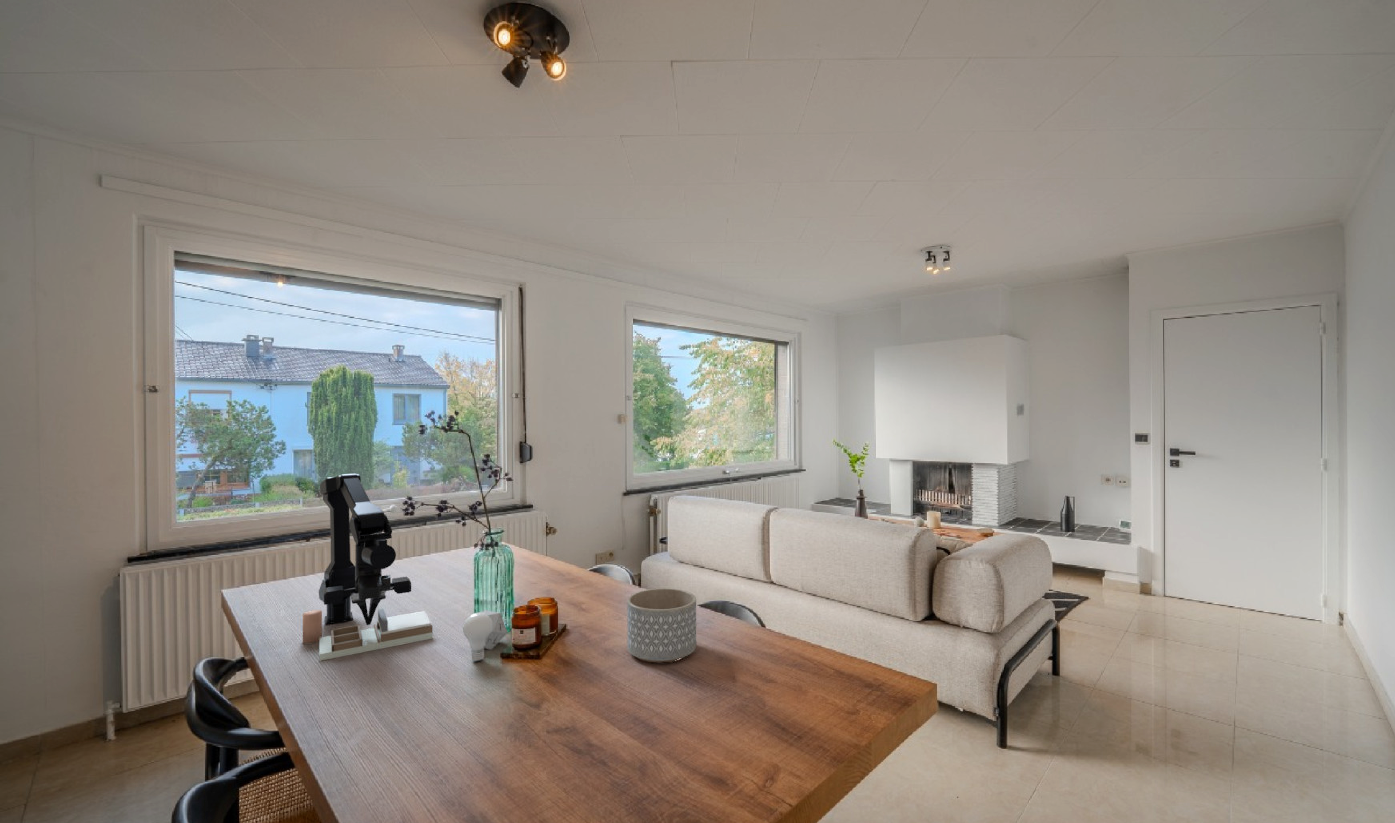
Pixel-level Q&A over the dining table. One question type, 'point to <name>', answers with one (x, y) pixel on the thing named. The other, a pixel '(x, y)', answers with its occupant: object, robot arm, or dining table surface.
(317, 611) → the tan brown cylinder
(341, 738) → the dining table surface
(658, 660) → the planter
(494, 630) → the die
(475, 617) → the lightbulb
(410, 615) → the lid
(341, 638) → the board
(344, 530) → the robot arm
